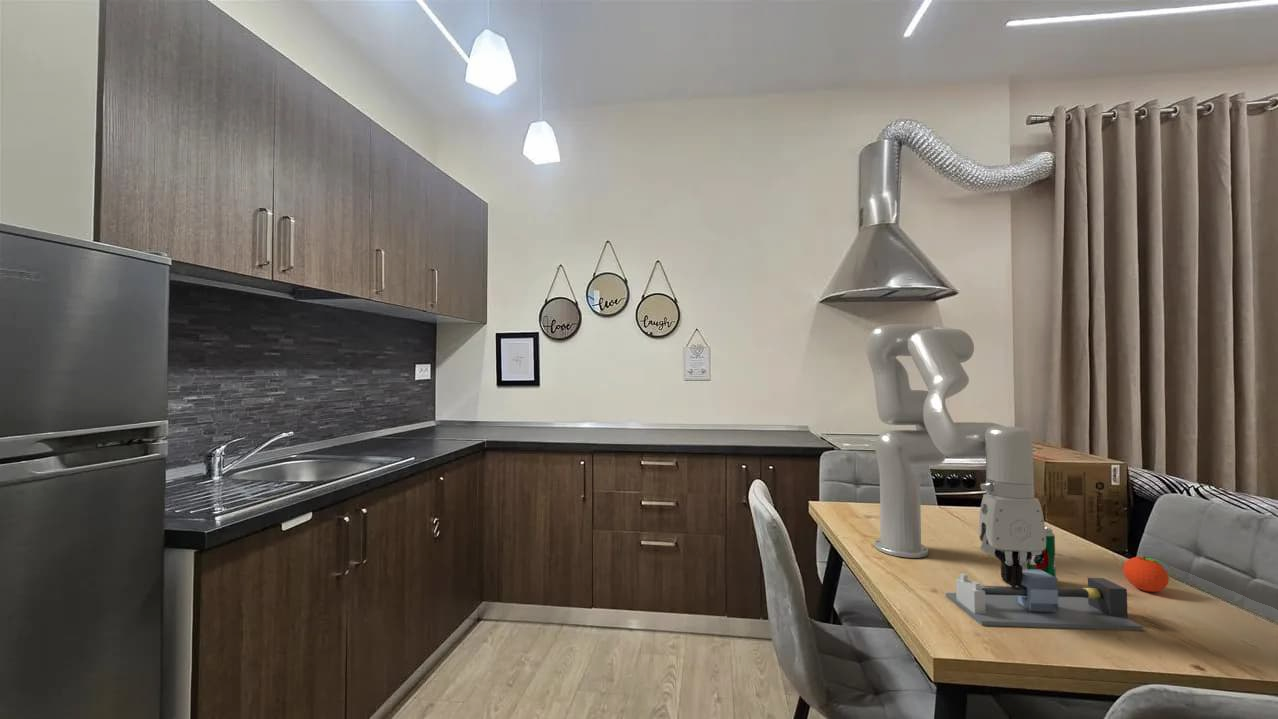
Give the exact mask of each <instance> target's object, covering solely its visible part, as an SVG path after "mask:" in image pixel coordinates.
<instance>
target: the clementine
mask: <svg viewBox="0 0 1278 719" xmlns="http://www.w3.org/2000/svg"><path fill="white" fill-rule="evenodd" d="M1160 563H1161V564H1160ZM1162 564H1164V562H1162V561H1161V560H1158V559H1154V558H1148V557H1147V556H1146V557H1145V556H1135V557H1132V558H1129V559H1127V560H1126V561H1125V563H1124V564H1123V568H1122V570H1123V571H1122V572H1123V576H1124V578H1125V579H1126V580H1127V582H1129V583H1130V584H1131V585H1132V586H1133V587H1134V588H1137V589H1138V590H1142V591H1143V592H1149V593H1150V592H1153V593H1154V592H1161V591H1162V590H1164V589H1165V588H1166V587H1167V586H1168V585H1169V580H1170V578H1169V573H1168V572H1167V570H1166V568H1164V566H1163V565H1162ZM1166 566H1167V567H1168V568H1169V569H1170V570H1171V571H1172V574H1174V571H1173V569H1172V568H1171V567H1170V566H1169V565H1168V564H1166Z"/></svg>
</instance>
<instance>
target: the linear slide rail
mask: <svg viewBox="0 0 1278 719" xmlns="http://www.w3.org/2000/svg"><path fill="white" fill-rule="evenodd" d="M959 574H960V577H959V578H957V577H956V578H955V582H956V583H955V586H956V592H945V597H946V598H947V599H948V600H950V602H952V603H953V604H955V605H956V606H957V607H958V608H960V610H962V611H963V612H964V613H966V614H967V615H969V617H971V619H973V620H974V621H976V622H977V623H978V624H979V625H981V626H983V627H984V626H987V627H988V626H990V627H993V626H994V627H1013V628H1014V627H1016V628H1017V627H1021V628H1044V629H1045V628H1049V629H1050V628H1051V629H1052V628H1053V629H1076V630H1077V629H1080V630H1105V631H1106V630H1108V631H1109V630H1110V631H1111V630H1112V631H1135V632H1136V631H1137V632H1139V631H1142V632H1143V629H1144V628H1143V625H1141V624H1139V623H1137V622H1135V621H1134V620H1132V619H1130V618H1129V617H1128V616H1129V615H1128V613H1129V612H1128V589H1127V588H1125V587H1123V586H1121V585H1119V584H1117V583H1114V582H1113V581H1110V580H1108V579H1106V578H1104V577H1103V578H1102V577H1087V587H1082V588H1080V587H1079V588H1077V587H1076V588H1075V587H1072V588H1071V587H1058V612H1043V611H1030V610H1028V609H1027V608H1025V607H1024V606H1022V605H1021V604H1019V603H1018V602H1016V601H1015V596H1027V587H1012V586H1010V585H1008V586H1006V585H1004V586H1003V585H1001V586H1000V585H981V584H980V582H978V581H971V580H969V578H968V574H966V573H959Z"/></svg>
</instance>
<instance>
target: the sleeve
mask: <svg viewBox="0 0 1278 719" xmlns="http://www.w3.org/2000/svg"><path fill="white" fill-rule="evenodd" d="M1022 576H1023V579H1022V587H1027V596H1015V601H1016V602H1018V603H1019V604H1021V605H1022V606H1024V607H1025V608H1027V609H1028V610H1030V611H1043V612H1058V588H1059V587H1058V586H1059V585H1058V584H1059V583H1058V580H1059V579H1058V578H1057V576H1056V577H1054V576H1052V575H1050V574H1048V573H1046V572H1044V571H1042V570H1040V569H1027V568H1022ZM1016 587H1018V586H1016Z"/></svg>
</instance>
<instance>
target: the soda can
mask: <svg viewBox="0 0 1278 719" xmlns="http://www.w3.org/2000/svg"><path fill="white" fill-rule="evenodd" d="M1045 531H1046V548H1045V550H1043V551H1042V554H1040V555H1036V556H1031V557H1030V558H1029V559H1028V560H1027V561H1026V569H1040V570H1042V571H1044V572H1046V573H1048V574H1050V575H1052V576H1054V577H1056V578H1057V572H1056V571H1057V568H1056V566H1057V565H1056V563H1057V562H1056V536H1055V533H1054V532H1053V529H1051V528H1049V527H1046V526H1045Z"/></svg>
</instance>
